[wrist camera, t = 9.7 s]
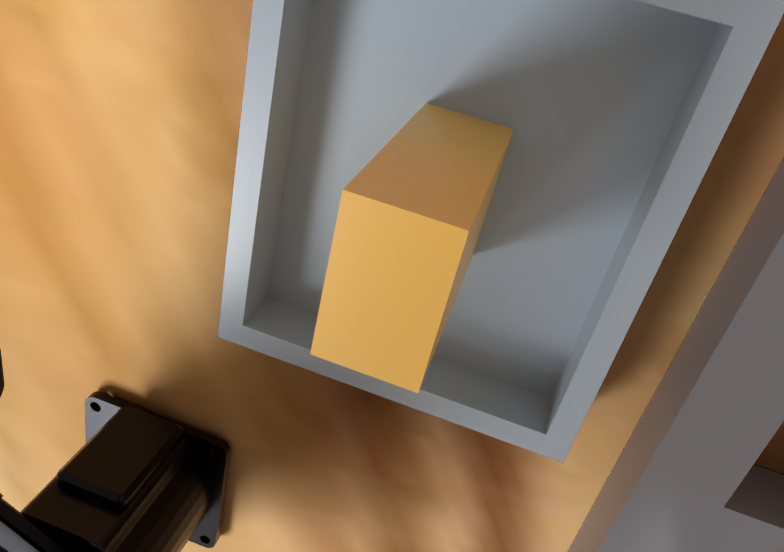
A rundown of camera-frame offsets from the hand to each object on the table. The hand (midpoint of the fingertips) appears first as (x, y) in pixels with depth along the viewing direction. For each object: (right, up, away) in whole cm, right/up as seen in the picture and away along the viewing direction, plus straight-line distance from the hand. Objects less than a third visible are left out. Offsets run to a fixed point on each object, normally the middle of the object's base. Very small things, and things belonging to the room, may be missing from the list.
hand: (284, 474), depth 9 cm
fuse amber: (+3, +5, +10) cm, 12 cm away
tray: (+3, +6, +11) cm, 13 cm away
